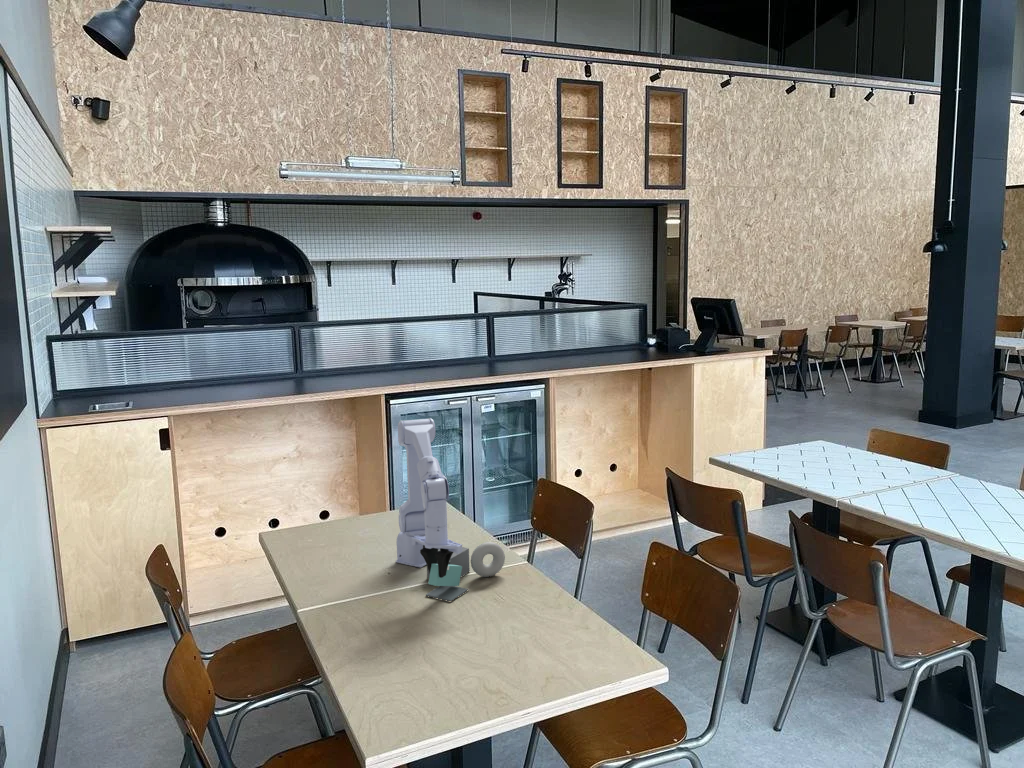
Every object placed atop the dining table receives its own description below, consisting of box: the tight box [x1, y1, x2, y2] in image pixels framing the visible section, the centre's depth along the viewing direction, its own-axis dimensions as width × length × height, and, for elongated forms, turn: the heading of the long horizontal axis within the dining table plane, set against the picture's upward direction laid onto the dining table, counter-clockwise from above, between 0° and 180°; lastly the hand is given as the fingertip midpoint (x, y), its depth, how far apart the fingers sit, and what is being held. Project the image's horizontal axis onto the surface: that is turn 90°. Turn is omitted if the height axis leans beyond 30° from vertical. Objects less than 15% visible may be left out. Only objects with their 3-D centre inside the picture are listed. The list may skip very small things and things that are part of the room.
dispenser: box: [426, 546, 471, 579], centre depth 213 cm, size 8×10×7 cm
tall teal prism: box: [427, 564, 462, 587], centre depth 200 cm, size 2×11×5 cm, turn 150°
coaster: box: [425, 586, 469, 602], centre depth 202 cm, size 8×8×1 cm
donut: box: [470, 541, 506, 578], centre depth 212 cm, size 10×4×10 cm, turn 112°
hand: (437, 575), depth 197 cm, fingers closed on tall teal prism, 2 cm apart
